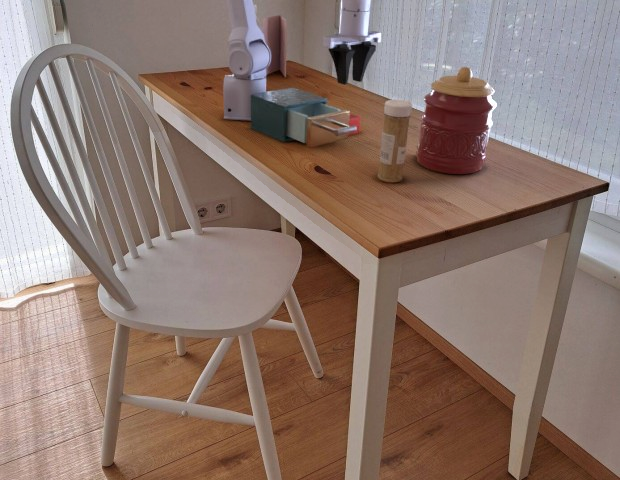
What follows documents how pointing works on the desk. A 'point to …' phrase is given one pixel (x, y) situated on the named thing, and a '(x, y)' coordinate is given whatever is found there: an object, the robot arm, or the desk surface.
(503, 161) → the desk surface
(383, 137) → the sprinkles bottle
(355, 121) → the small red toy cube
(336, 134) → the drawer
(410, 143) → the desk surface
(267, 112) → the teal box
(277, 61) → the greeting card
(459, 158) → the kitchen canister
